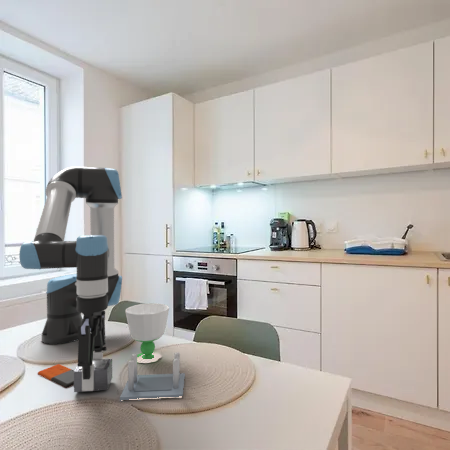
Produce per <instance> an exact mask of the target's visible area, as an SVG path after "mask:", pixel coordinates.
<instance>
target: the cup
mask: <svg viewBox="0 0 450 450" xmlns="http://www.w3.org/2000/svg"><path fill="white" fill-rule="evenodd" d="M124 312H125V316H126V320H127V325H128V326H127V327H128V330H129V335H130V336H131V338H132V339H133V340H134V341H136V342H139V343H141V344H140V347H139V348H140V353H138V354H137V357H139V356H141V355H143V354H145V355H143V356H142V358H143V359H152V358H154V355H152V353H153V352H155V349H156V346H155V341H157V340H159V339H160V338H162V337H163V336H164V335H165V332H166V327H167V322H168V316H169V312H170V307H169V305H168V304H167V305H166V304H163V303H157V302H156V303H154V302H153V303H150V302H149V303H139V304H135V305H132V306H129V307H127V308H125V311H124Z"/></svg>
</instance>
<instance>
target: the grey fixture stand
mask: <svg viewBox="0 0 450 450" xmlns="http://www.w3.org/2000/svg"><path fill="white" fill-rule="evenodd" d="M137 355H138V354H137V353H133V354H131V360H128V361H127V374H128V375H127V381H126V383H125V385H124V387H123V389H122V392H121V394H120V396H119V402H122V401H121V400H129V399H137V398H138V399H139V398H157V397H158V398H159V397H179V396H183V397H184V390H183V388H184V389H185V381H184V379H185V377H186V373H185V372H182V373H180V368H181V367H180V366H181V364H180V362H181V359H180V355H181V354H180V352H179V351H178V352H174V356H173V357H174V358H173V359H172V373H158V374H157V373H155V374H153V373H151V374H138V363H137Z"/></svg>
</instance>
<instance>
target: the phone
mask: <svg viewBox="0 0 450 450" xmlns="http://www.w3.org/2000/svg"><path fill="white" fill-rule="evenodd" d="M74 371H75V369H72V368H69V367H67V366H65V365H62V364H60V363H58V364H57V363H56V364H55V365H52V366H50V367H47V368H45V369H41V370H39V371H38V372H37V375H38V376H40V377H42V378H44V379H46V380H48V381H51V382H52V383H55V384H56V385H58V386H60V387H62V388H64V389H68V388H71V387H72V386H73V387H74V385H73V383H74Z"/></svg>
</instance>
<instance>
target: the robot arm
mask: <svg viewBox="0 0 450 450" xmlns="http://www.w3.org/2000/svg"><path fill="white" fill-rule="evenodd" d="M120 181H121V180H120V174H119V171H118V170H117V169H115V168H110V167H93V166H90V167H89V166H88V167H87V166H70V167H66V168H63V170H60V171H59V172H57V173H56V174H54V176H53V177H51V178H50V179H49V181H48V183H47V185H46V188H45V196H46V199H45V202H44V206H43V209H42V212H41V215H40V218H39V222H38V225H37V229H36V231H35V235H34V237H33V240H30V241H25V242H22V244H21V246H20V248H19V257H18V258H19V263H20V265H21V268H22V269H24V270H25V269H26V270H46V269H47V270H48V269H67V268H69V269H70V268H71V269H73V268H76V273H73V274H67V275H66V274H65V275H62V276H61V275H60V276H56V277H54V278H51V279H49V280H48V281H47V283H46V291H45V294H46V319H45V320H46V321H45V323H44V325H43V326H44V327H43V329H42V332H41V342H42V343H43V342H44V344H46V343H49V345H58V344H57V343H62V344H66V343H65V342H68V343H72V342H75V341H74V340H76V341H78V343H77V345H78V346H77V349H78V350H77V352H78V353H77V366H78V367H82V391H84V392H93V390H94V363H93V360H101V359H104V352H105V351H107V346H106V321H105V319H106V310H107V309H108V307H110V306H111V307H112V306H117V305H118V304H119V303H120V298H121V292H122V284H123V276H122V275H120V274H119V270H117V268H115V207H117V205H118V204H119V200H121V199H122V198H123V196H122V186H121V182H120ZM78 198H79V199H85V204H86V205H87V206H89V215H90V218H89V219H90V220H89V221H90V222H89V223H90V225H89V226H90V234H85V235H79V236H78V237H77V238H76V240H65V238H66V233H67V226H68V223H69V222H68V221H69V216H70V212H71V207H72V203H73V202H74V201H75V200H76V199H78ZM82 314H83V317H82ZM77 339H78V340H77ZM71 341H72V342H71ZM103 351H104V352H103Z"/></svg>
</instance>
